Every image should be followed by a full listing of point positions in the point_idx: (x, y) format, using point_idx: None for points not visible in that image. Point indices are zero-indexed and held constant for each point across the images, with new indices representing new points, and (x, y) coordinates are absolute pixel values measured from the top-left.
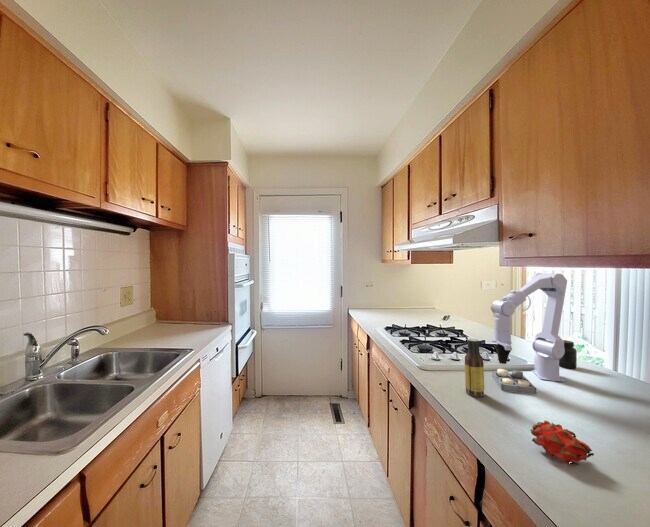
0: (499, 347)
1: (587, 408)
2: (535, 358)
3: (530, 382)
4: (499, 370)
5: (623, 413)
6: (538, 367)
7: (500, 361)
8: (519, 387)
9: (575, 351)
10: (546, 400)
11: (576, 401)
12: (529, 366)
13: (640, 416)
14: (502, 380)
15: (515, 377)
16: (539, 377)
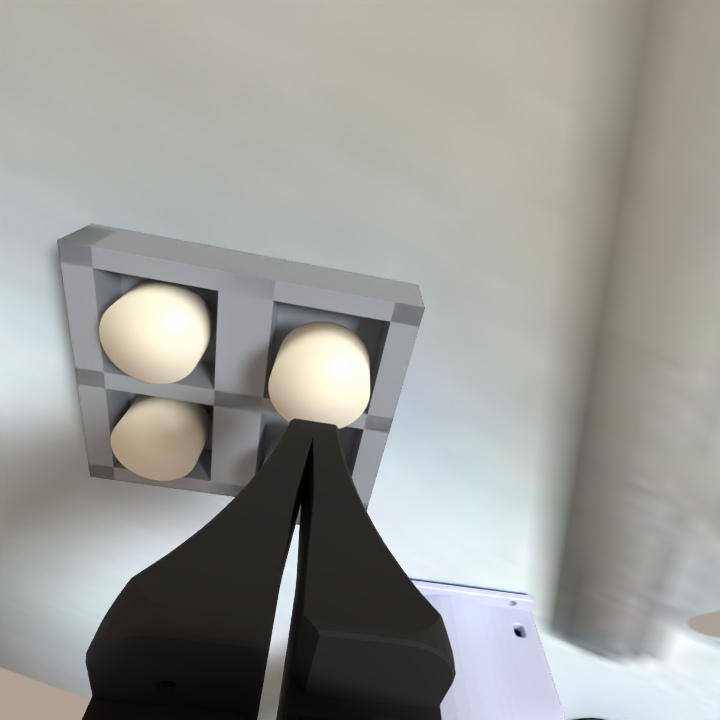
0: (90, 654)
1: (26, 573)
2: (544, 714)
3: (207, 492)
4: (309, 358)
5: (43, 651)
6: (454, 650)
7: (284, 436)
8: (81, 375)
9: None
10: (37, 453)
11: (101, 574)
12: (624, 619)
13: (42, 677)
14: (155, 293)
15: (276, 439)
16: (413, 583)
